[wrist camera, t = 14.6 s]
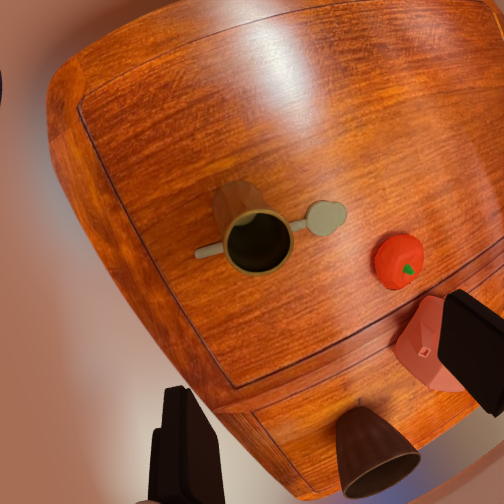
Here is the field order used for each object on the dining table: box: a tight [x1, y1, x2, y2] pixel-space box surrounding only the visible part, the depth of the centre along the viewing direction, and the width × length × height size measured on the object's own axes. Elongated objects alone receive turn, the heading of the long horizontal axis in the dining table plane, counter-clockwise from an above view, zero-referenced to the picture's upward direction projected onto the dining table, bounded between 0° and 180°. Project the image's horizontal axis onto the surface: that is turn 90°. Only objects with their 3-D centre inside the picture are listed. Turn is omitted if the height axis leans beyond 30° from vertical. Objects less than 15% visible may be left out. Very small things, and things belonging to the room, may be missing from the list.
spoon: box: [194, 200, 347, 259], centre depth 37 cm, size 19×4×1 cm, turn 104°
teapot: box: [393, 295, 465, 392], centre depth 41 cm, size 22×13×14 cm, turn 65°
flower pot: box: [336, 407, 421, 499], centre depth 45 cm, size 15×15×16 cm
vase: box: [212, 180, 294, 276], centre depth 29 cm, size 6×6×14 cm
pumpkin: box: [375, 234, 424, 290], centre depth 38 cm, size 7×8×6 cm
